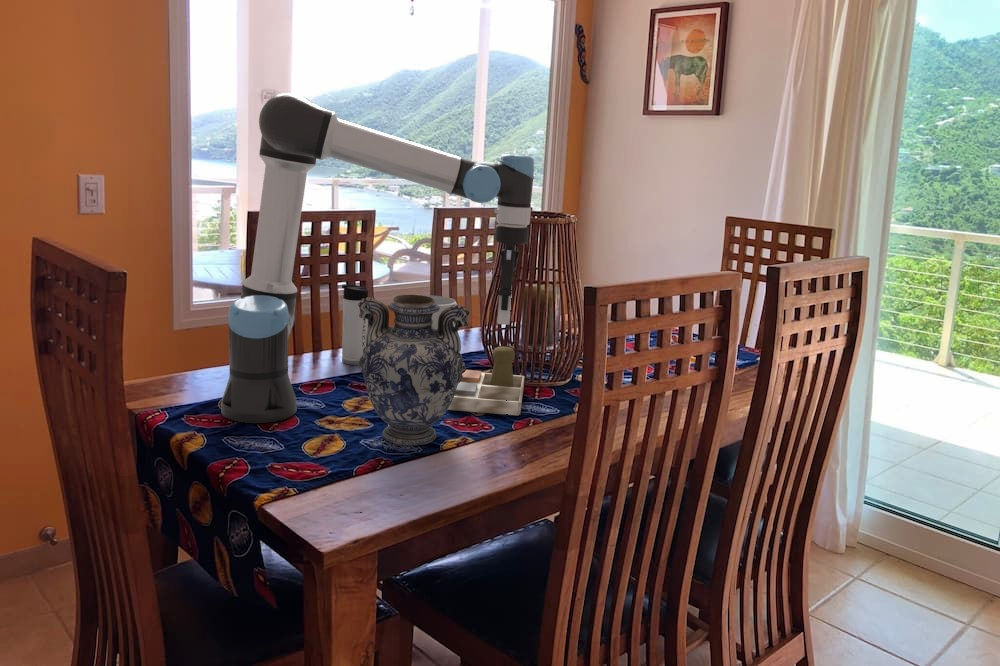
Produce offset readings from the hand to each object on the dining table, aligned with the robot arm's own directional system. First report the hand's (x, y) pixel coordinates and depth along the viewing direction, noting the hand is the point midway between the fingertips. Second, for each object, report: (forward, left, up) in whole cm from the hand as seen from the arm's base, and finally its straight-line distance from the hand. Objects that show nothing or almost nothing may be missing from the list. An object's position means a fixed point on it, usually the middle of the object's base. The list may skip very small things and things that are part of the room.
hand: (505, 317), depth 190 cm
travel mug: (-39, +16, -18) cm, 46 cm away
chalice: (-21, +28, -18) cm, 40 cm away
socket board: (-3, -5, -18) cm, 19 cm away
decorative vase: (-16, -32, -18) cm, 40 cm away
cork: (0, 0, -18) cm, 18 cm away
